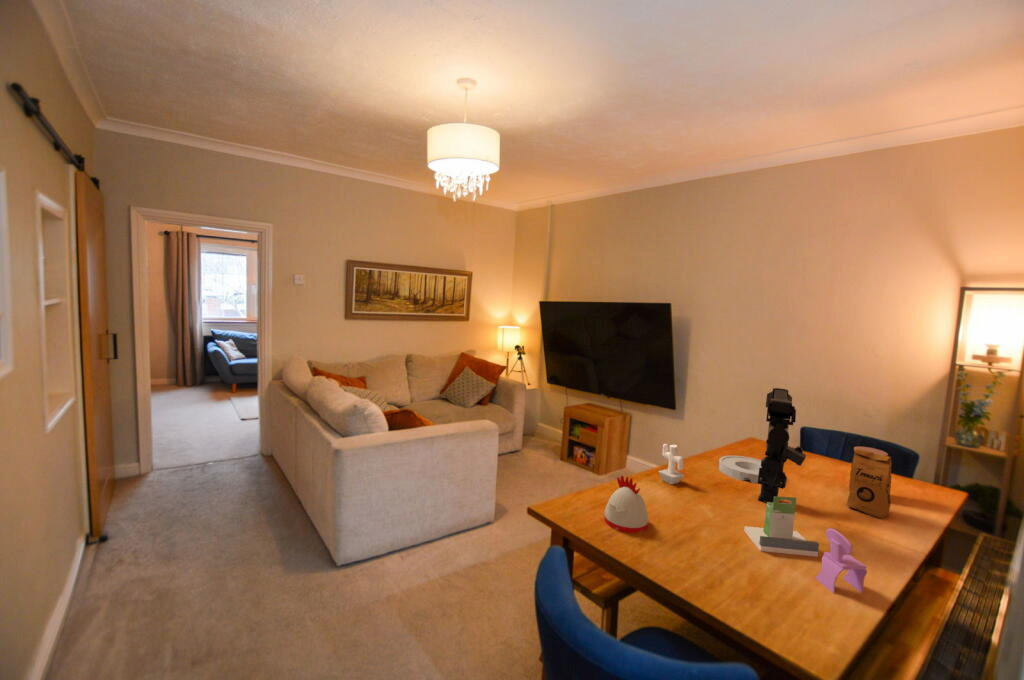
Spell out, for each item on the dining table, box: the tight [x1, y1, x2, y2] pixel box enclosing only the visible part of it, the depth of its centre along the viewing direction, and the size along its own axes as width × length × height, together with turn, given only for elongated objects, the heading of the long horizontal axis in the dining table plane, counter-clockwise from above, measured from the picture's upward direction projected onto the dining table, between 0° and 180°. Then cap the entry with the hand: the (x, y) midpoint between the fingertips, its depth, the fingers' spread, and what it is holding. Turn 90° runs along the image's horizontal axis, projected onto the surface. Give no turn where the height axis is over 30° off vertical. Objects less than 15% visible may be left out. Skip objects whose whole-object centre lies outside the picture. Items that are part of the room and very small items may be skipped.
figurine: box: [658, 443, 686, 485], centre depth 185 cm, size 7×9×15 cm
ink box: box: [763, 495, 797, 539], centre depth 142 cm, size 7×4×13 cm, turn 85°
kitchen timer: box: [603, 475, 649, 534], centre depth 149 cm, size 14×14×15 cm
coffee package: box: [846, 449, 892, 520], centre depth 166 cm, size 10×12×22 cm
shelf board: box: [743, 525, 820, 558], centre depth 141 cm, size 12×16×4 cm
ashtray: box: [718, 455, 762, 484], centre depth 199 cm, size 23×23×4 cm
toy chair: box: [815, 527, 868, 594], centre depth 120 cm, size 8×9×15 cm
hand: (772, 482), depth 155 cm, fingers open, 9 cm apart
